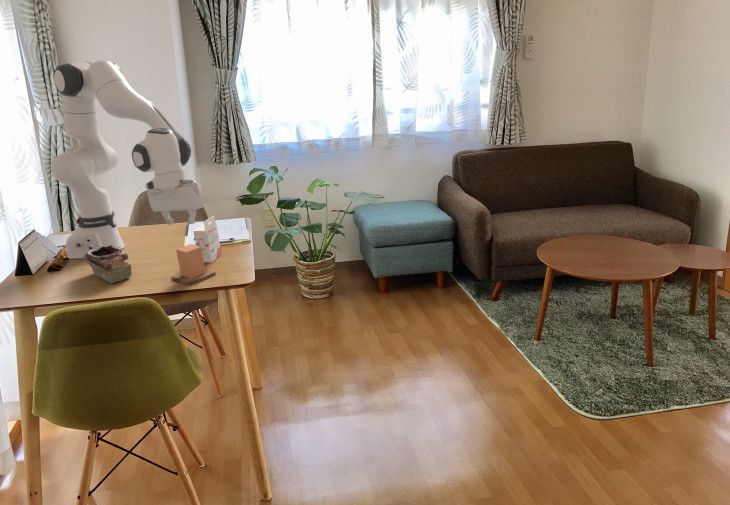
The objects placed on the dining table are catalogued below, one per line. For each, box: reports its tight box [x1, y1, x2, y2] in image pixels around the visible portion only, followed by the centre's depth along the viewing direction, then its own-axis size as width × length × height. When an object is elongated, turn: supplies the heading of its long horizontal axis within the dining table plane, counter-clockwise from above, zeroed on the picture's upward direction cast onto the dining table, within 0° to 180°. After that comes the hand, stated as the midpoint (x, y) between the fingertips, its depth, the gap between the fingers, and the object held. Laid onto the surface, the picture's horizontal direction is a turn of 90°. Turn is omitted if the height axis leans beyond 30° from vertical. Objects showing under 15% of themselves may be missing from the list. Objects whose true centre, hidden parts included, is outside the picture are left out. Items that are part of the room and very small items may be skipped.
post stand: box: [171, 268, 217, 286], centre depth 203 cm, size 10×10×8 cm
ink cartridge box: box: [192, 215, 222, 263], centre depth 218 cm, size 9×5×15 cm, turn 168°
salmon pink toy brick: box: [175, 244, 206, 279], centre depth 202 cm, size 6×6×9 cm
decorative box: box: [82, 245, 132, 285], centre depth 209 cm, size 13×20×10 cm, turn 39°
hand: (181, 224), depth 197 cm, fingers open, 8 cm apart
